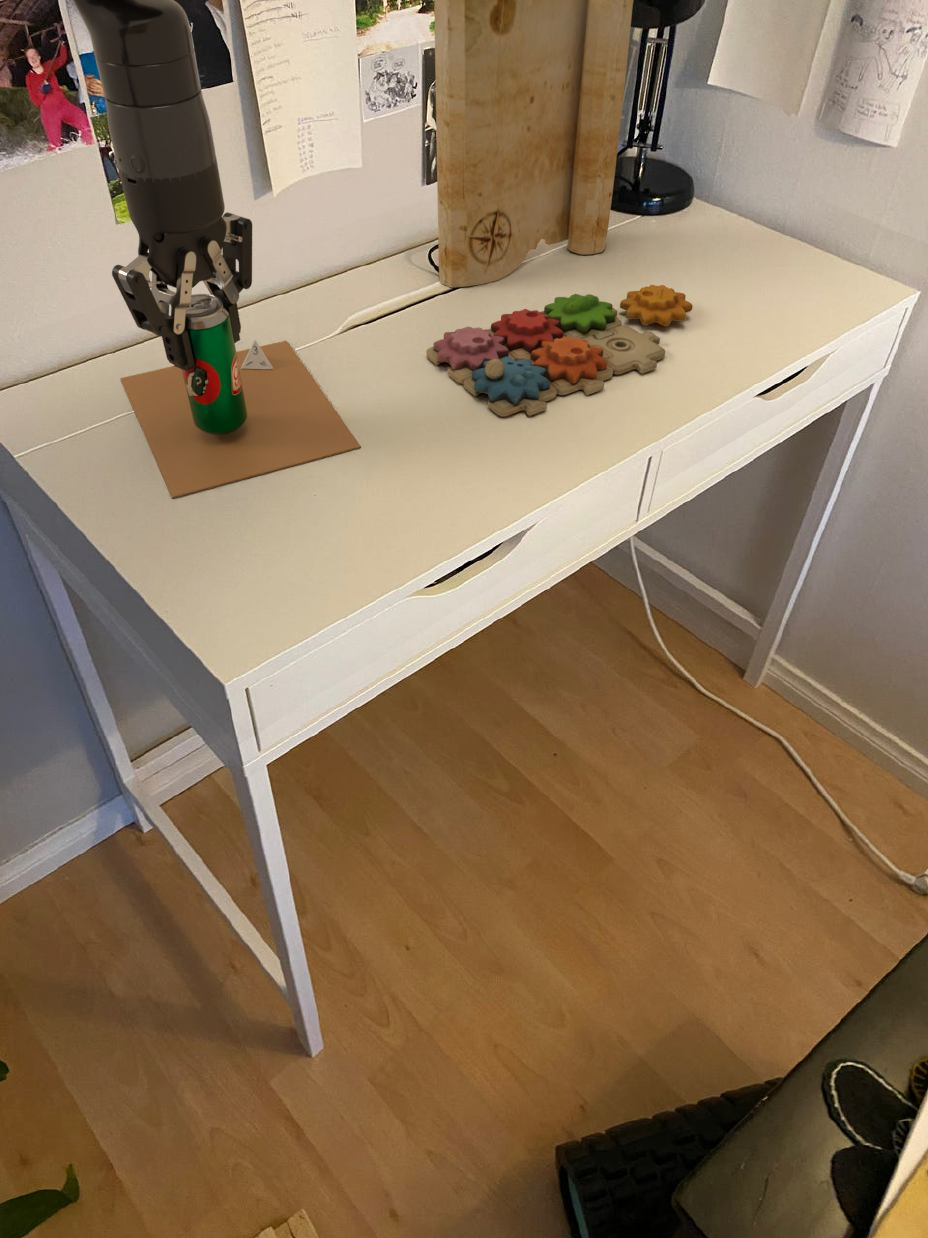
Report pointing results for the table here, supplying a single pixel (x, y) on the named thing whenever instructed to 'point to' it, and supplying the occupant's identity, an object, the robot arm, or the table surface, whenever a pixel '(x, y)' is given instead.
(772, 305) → the table surface
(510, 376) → the gear puzzle
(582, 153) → the parchment
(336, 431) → the kraft paper
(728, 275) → the table surface
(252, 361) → the tetrahedral die
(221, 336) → the soda can
